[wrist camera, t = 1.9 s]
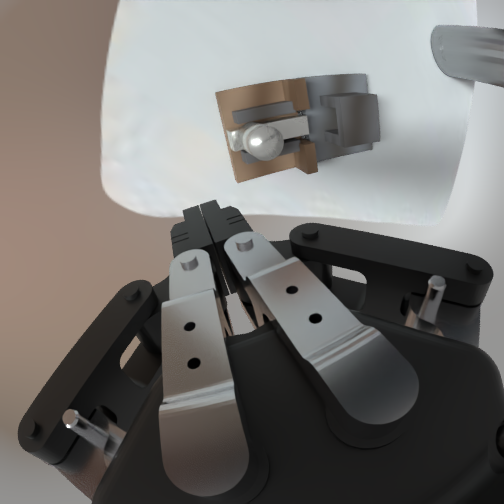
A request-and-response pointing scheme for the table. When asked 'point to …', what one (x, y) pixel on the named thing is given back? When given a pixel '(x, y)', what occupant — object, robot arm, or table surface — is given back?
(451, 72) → the robot arm
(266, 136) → the steel bolt
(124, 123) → the table surface
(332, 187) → the table surface
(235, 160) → the plate
